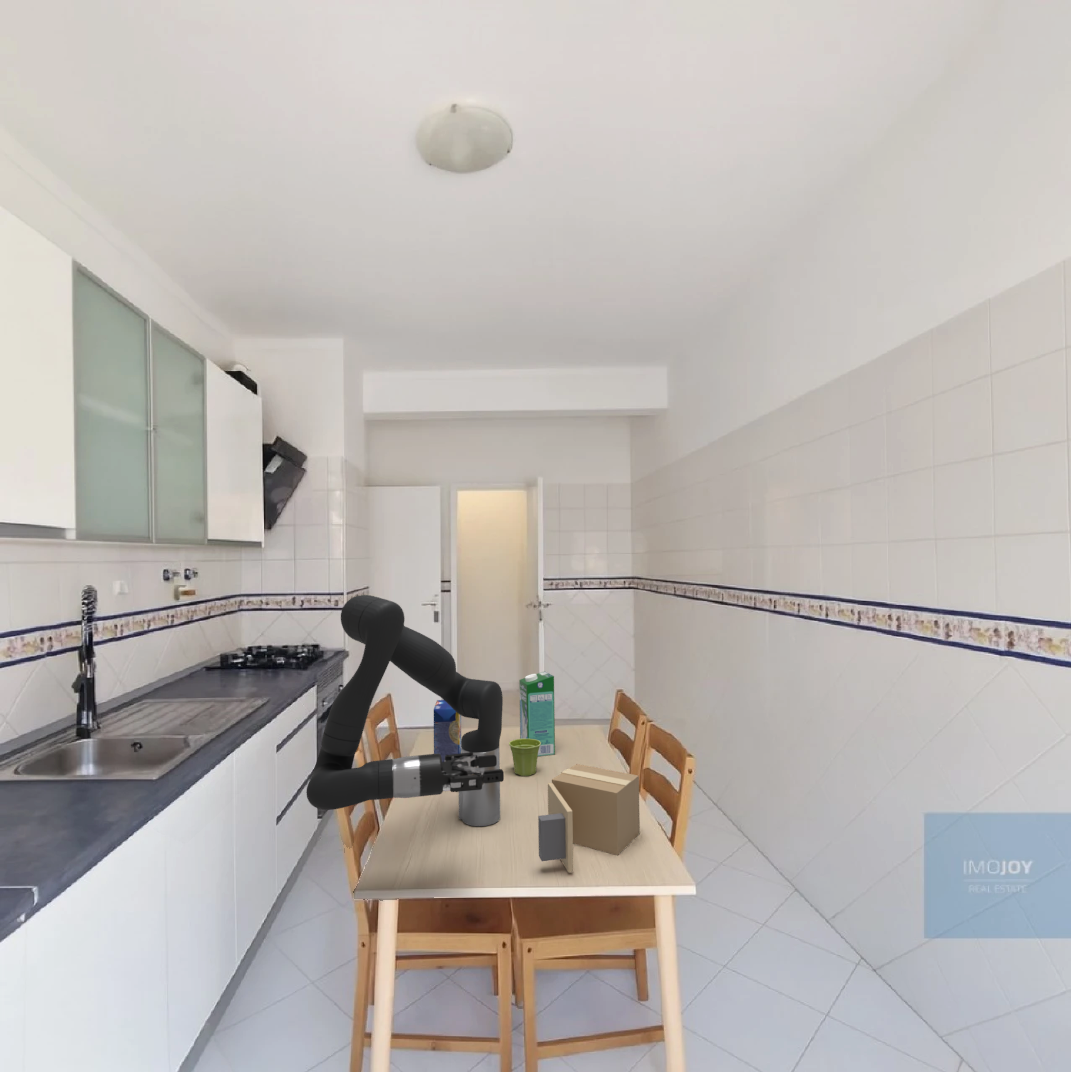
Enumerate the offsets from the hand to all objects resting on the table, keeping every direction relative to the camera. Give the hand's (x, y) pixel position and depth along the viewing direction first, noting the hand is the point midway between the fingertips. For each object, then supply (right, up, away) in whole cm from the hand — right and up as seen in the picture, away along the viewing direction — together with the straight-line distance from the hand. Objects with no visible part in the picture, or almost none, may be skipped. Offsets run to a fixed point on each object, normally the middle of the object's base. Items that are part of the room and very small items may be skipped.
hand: (499, 767), depth 124 cm
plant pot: (+4, -23, +58) cm, 62 cm away
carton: (+21, -22, +17) cm, 34 cm away
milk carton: (+8, -24, +77) cm, 81 cm away
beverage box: (-17, -23, +50) cm, 58 cm away
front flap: (+10, -21, +7) cm, 24 cm away
